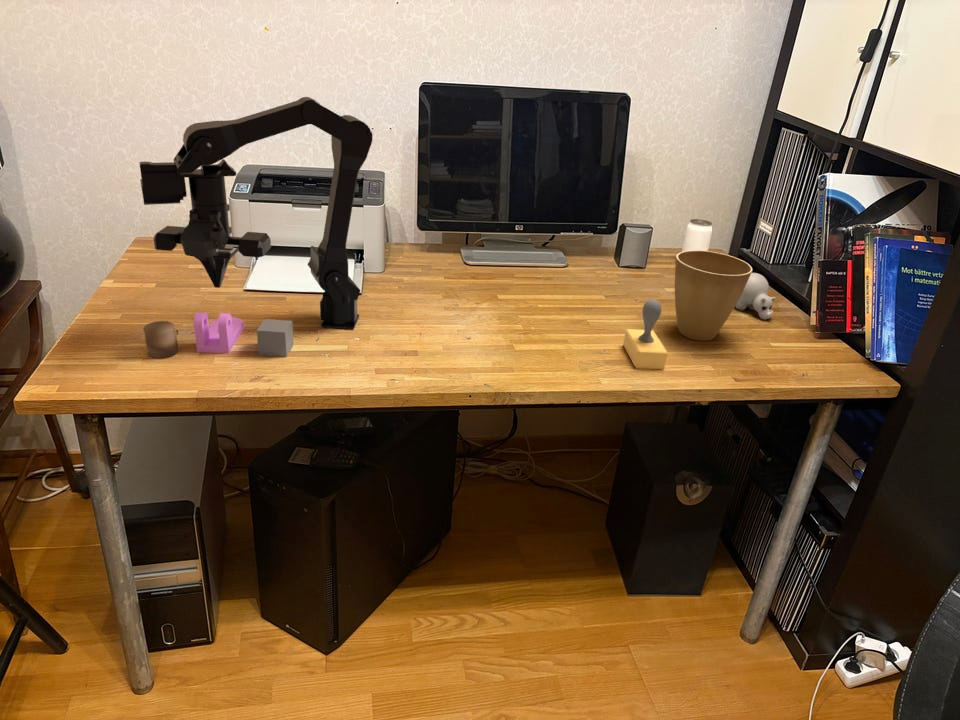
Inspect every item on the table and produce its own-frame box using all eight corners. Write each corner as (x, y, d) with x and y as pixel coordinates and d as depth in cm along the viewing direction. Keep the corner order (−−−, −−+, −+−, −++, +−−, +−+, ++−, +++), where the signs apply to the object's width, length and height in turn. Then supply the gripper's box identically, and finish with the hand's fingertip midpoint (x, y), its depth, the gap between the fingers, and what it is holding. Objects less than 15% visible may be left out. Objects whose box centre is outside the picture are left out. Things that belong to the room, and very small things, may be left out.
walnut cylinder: (182, 347, 127) (179, 322, 125) (171, 360, 123) (167, 334, 121) (154, 345, 127) (151, 320, 125) (142, 357, 123) (138, 332, 120)
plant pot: (700, 354, 140) (717, 278, 132) (647, 325, 150) (660, 254, 143) (749, 341, 147) (768, 268, 140) (695, 315, 158) (710, 246, 151)
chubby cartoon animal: (747, 331, 159) (764, 304, 152) (721, 294, 166) (737, 267, 159) (773, 328, 161) (792, 301, 154) (747, 291, 168) (764, 265, 162)
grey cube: (293, 345, 131) (292, 320, 129) (286, 357, 127) (285, 332, 124) (266, 343, 131) (264, 319, 129) (258, 355, 127) (256, 330, 124)
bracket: (229, 353, 127) (225, 318, 123) (197, 352, 126) (192, 317, 123) (246, 324, 138) (243, 291, 135) (217, 322, 138) (213, 289, 134)
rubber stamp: (622, 345, 141) (632, 289, 136) (650, 346, 142) (661, 290, 136) (634, 368, 132) (646, 309, 127) (664, 369, 133) (677, 311, 127)
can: (706, 270, 186) (716, 226, 181) (682, 269, 186) (691, 224, 181) (700, 262, 192) (709, 219, 186) (676, 260, 192) (685, 217, 186)
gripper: (132, 210, 113) (146, 299, 120) (249, 218, 114) (256, 307, 121) (162, 193, 123) (173, 277, 130) (268, 201, 124) (274, 284, 131)
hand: (218, 286), depth 128 cm, fingers closed
